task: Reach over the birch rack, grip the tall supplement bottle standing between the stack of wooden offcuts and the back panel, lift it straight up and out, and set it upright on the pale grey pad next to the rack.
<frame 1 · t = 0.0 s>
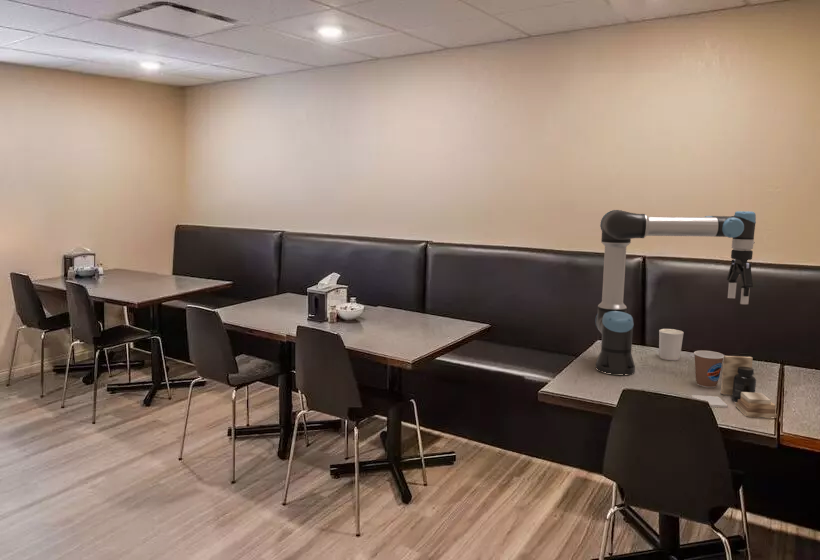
hand: (737, 301, 238), 28 cm above the table, tool pointing down, fingers open, 13 cm apart
supplement bottle: (742, 402, 202), on the table
grey pad: (708, 402, 201), on the table
offcut rack: (747, 405, 198), on the table
coffee cup: (706, 385, 219), on the table
candle holder: (669, 358, 255), on the table
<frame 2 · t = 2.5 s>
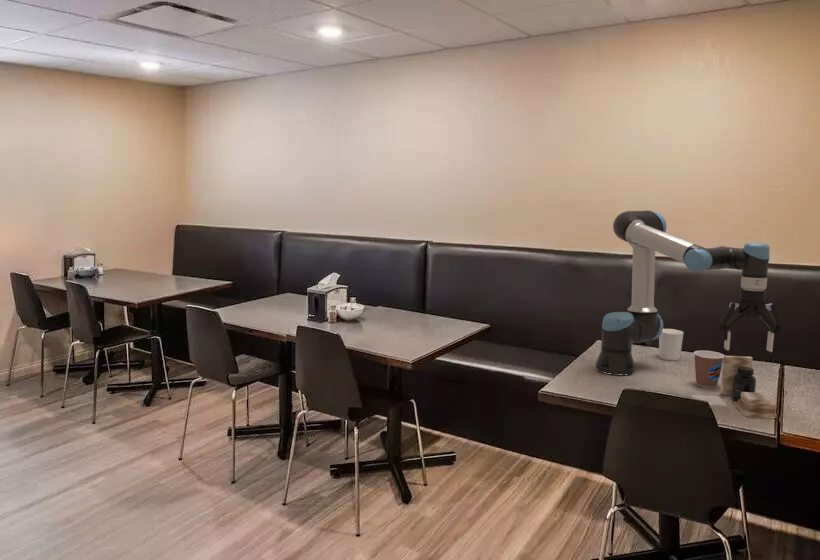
hand: (747, 350, 199), 18 cm above the table, tool pointing down, fingers open, 13 cm apart
nothing on the table moved.
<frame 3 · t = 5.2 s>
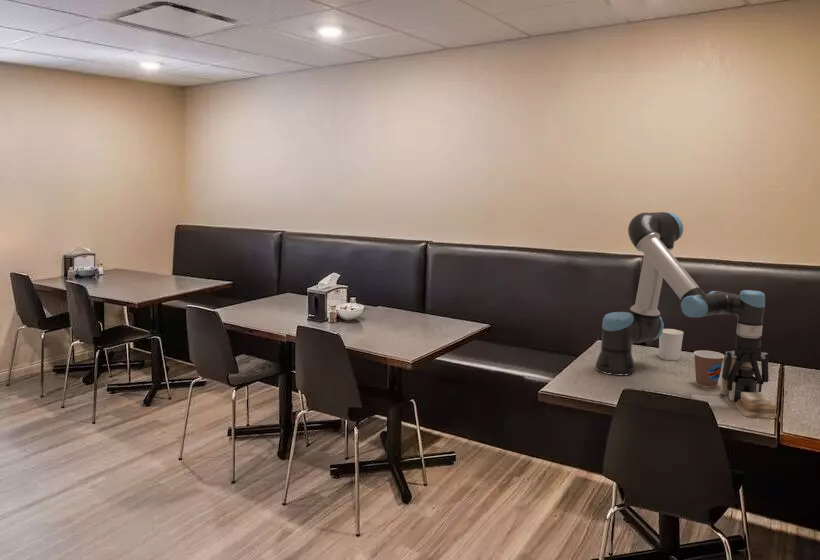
hand: (742, 399, 202), 1 cm above the table, tool pointing down, fingers closed on supplement bottle, 7 cm apart
supplement bottle: (742, 402, 202), on the table, touching gripper
everything else where it was.
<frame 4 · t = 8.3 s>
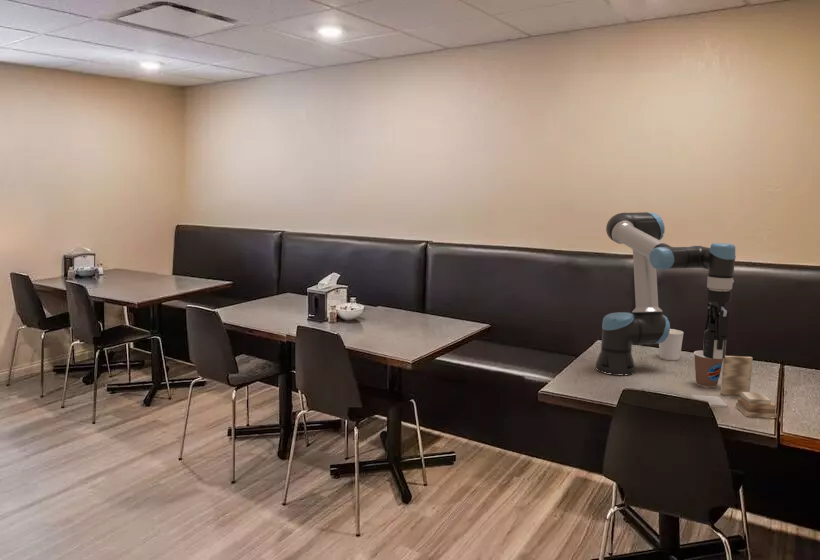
hand: (713, 355, 198), 17 cm above the table, tool pointing down, fingers closed on supplement bottle, 7 cm apart
supplement bottle: (713, 357, 199), point 16 cm above the table, touching gripper
everything else where it was.
when the fingers open (3 cm above the table, at t = 11.8 s): supplement bottle drops 1 cm, resting on grey pad.
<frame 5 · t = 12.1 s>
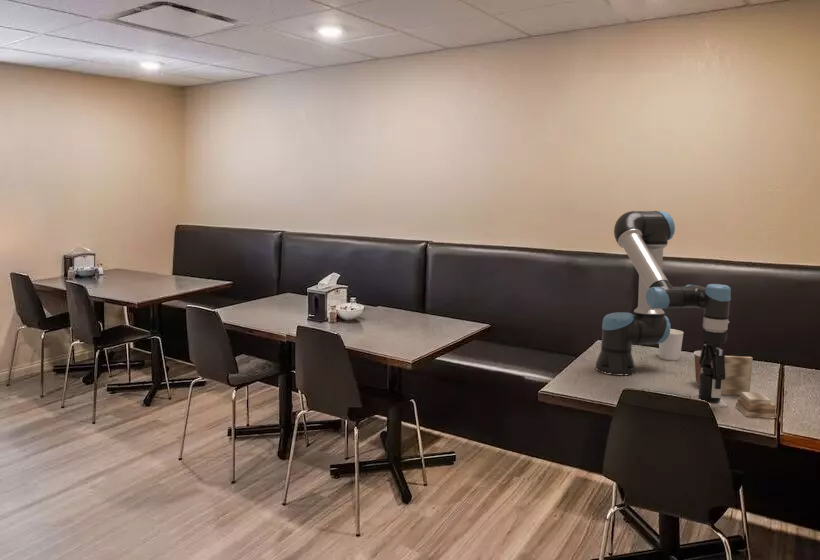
hand: (709, 391, 200), 4 cm above the table, tool pointing down, fingers open, 11 cm apart
supplement bottle: (709, 400, 201), point 1 cm above the table, touching grey pad
everything else where it was.
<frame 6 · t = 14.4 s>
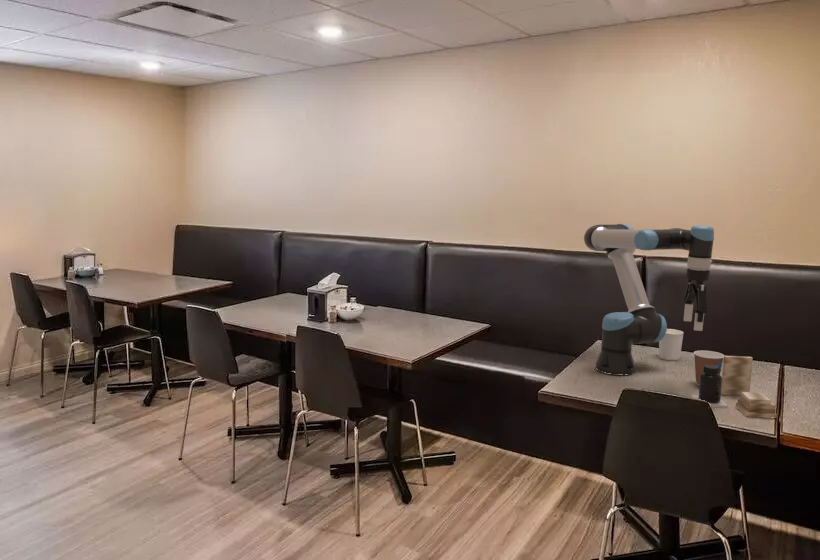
hand: (692, 325, 213), 23 cm above the table, tool pointing down, fingers open, 13 cm apart
nothing on the table moved.
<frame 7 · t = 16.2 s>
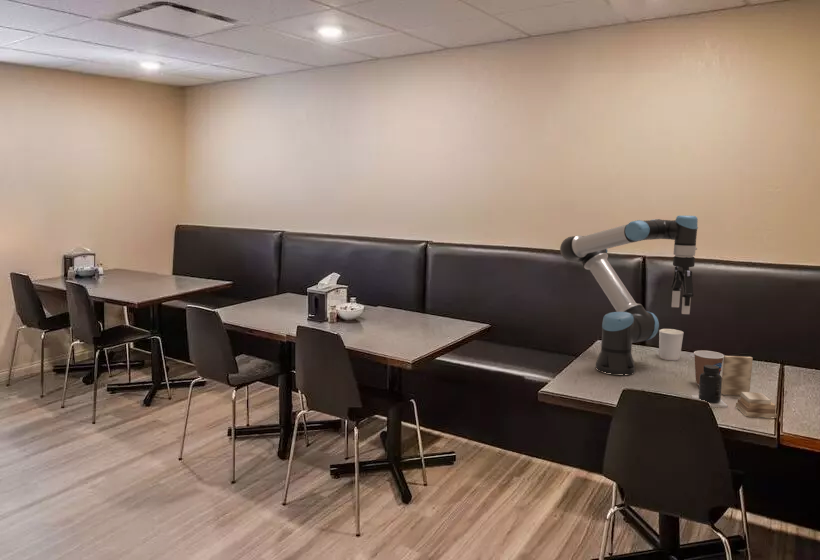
hand: (680, 310, 225), 27 cm above the table, tool pointing down, fingers open, 13 cm apart
nothing on the table moved.
at the end: supplement bottle inside the target area (0.1 cm from its centre), point 0.6 cm above the table; supplement bottle tilted 0°; the gripper is holding nothing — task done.
